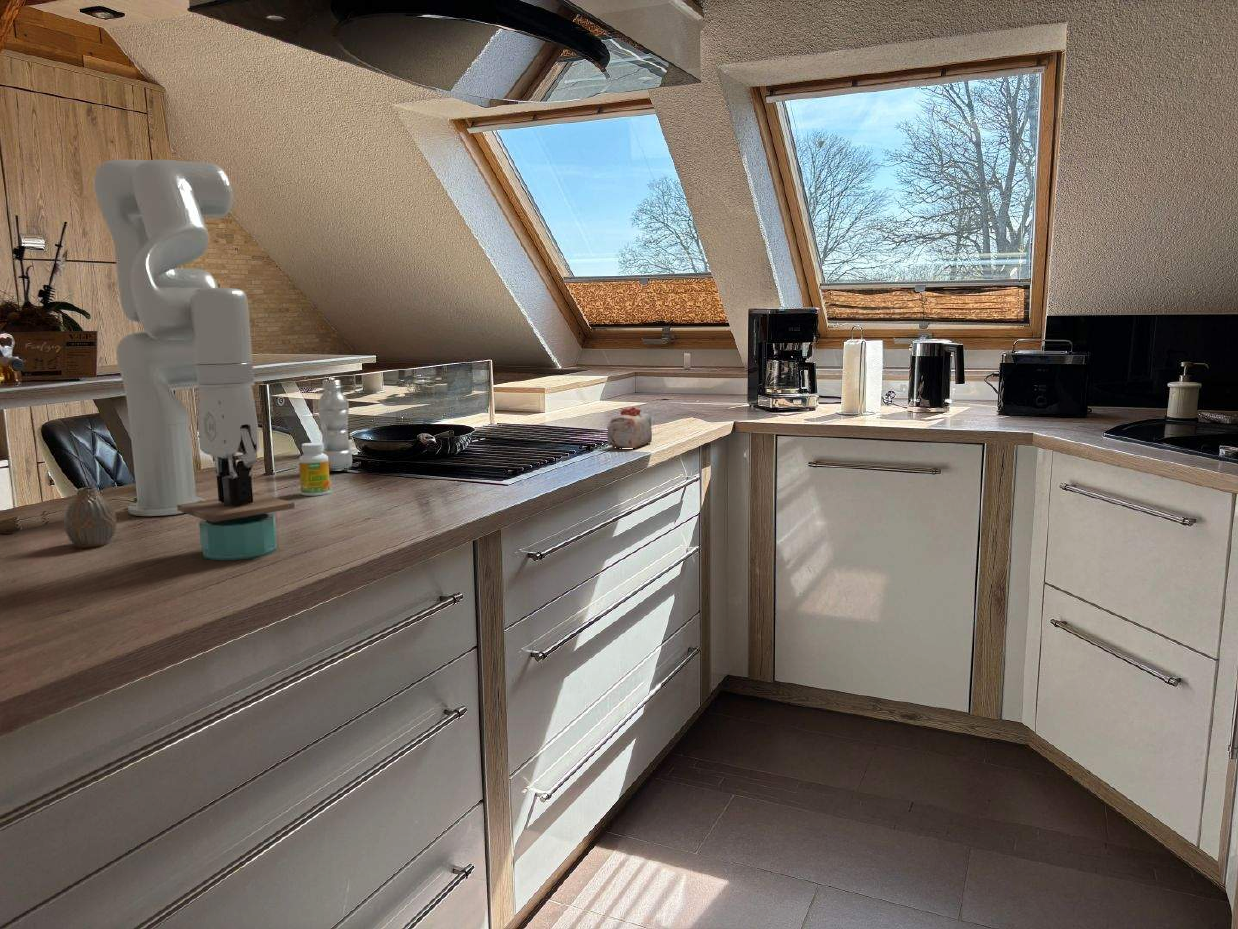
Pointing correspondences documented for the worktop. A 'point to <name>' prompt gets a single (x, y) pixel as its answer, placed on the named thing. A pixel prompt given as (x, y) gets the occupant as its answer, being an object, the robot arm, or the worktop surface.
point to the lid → (225, 511)
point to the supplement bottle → (314, 470)
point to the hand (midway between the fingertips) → (235, 501)
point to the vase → (90, 519)
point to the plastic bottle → (335, 425)
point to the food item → (630, 429)
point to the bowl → (238, 537)
